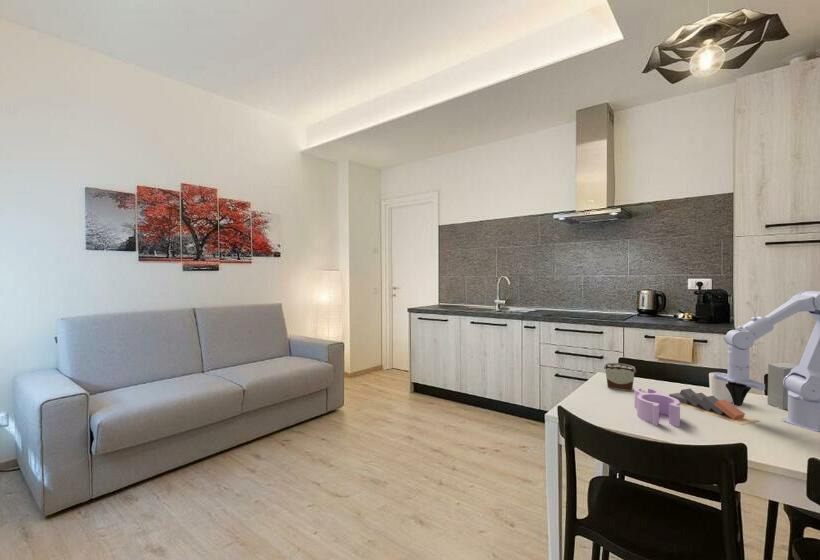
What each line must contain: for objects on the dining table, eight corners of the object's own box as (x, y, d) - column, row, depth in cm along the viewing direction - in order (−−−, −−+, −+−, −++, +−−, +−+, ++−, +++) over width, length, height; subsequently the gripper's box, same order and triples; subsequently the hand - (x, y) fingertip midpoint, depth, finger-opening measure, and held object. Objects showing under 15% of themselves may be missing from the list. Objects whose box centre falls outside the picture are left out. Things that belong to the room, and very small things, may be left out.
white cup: (725, 397, 156) (725, 372, 156) (739, 404, 149) (740, 378, 148) (704, 397, 157) (704, 372, 157) (717, 403, 149) (717, 377, 149)
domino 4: (731, 409, 138) (713, 395, 144) (722, 411, 136) (704, 397, 142) (729, 413, 139) (710, 399, 145) (720, 415, 137) (701, 400, 143)
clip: (625, 405, 150) (625, 387, 150) (661, 406, 148) (661, 388, 148) (646, 425, 131) (646, 405, 130) (688, 428, 128) (688, 407, 128)
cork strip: (760, 422, 132) (760, 421, 132) (742, 425, 129) (742, 424, 129) (684, 398, 156) (684, 397, 156) (667, 400, 153) (667, 400, 153)
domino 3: (719, 406, 142) (701, 392, 148) (710, 407, 140) (692, 394, 146) (717, 409, 142) (699, 396, 148) (708, 411, 141) (690, 397, 147)
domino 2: (706, 402, 146) (690, 388, 152) (697, 403, 144) (681, 389, 150) (704, 405, 147) (687, 391, 153) (695, 407, 145) (679, 393, 151)
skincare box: (787, 403, 149) (787, 361, 148) (806, 410, 142) (807, 366, 141) (765, 403, 148) (765, 362, 148) (784, 410, 141) (784, 367, 141)
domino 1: (695, 398, 150) (677, 392, 156) (686, 399, 148) (669, 394, 155) (695, 402, 150) (677, 397, 157) (686, 404, 148) (669, 398, 155)
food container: (636, 387, 171) (636, 364, 171) (636, 391, 166) (636, 367, 165) (605, 383, 177) (605, 361, 177) (603, 387, 172) (603, 364, 172)
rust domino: (745, 414, 134) (725, 399, 140) (736, 415, 132) (716, 401, 138) (742, 417, 135) (723, 403, 140) (733, 419, 133) (714, 404, 139)
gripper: (707, 362, 139) (707, 400, 139) (755, 372, 125) (754, 414, 126) (721, 360, 141) (721, 397, 142) (769, 369, 128) (769, 411, 128)
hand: (738, 405), depth 134 cm, fingers closed
